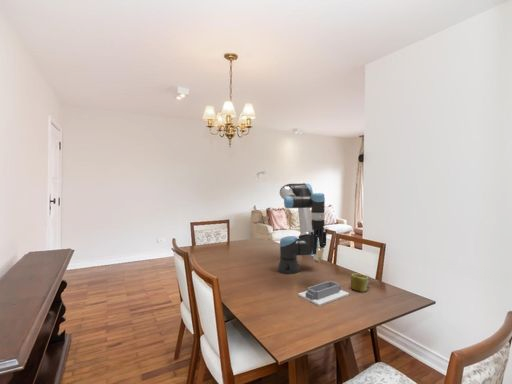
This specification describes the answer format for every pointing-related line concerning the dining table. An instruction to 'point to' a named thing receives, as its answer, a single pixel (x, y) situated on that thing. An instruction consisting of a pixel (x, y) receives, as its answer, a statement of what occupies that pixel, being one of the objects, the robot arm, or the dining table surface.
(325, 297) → the white grey flat tray
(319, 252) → the pin
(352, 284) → the mug
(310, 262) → the dining table surface
